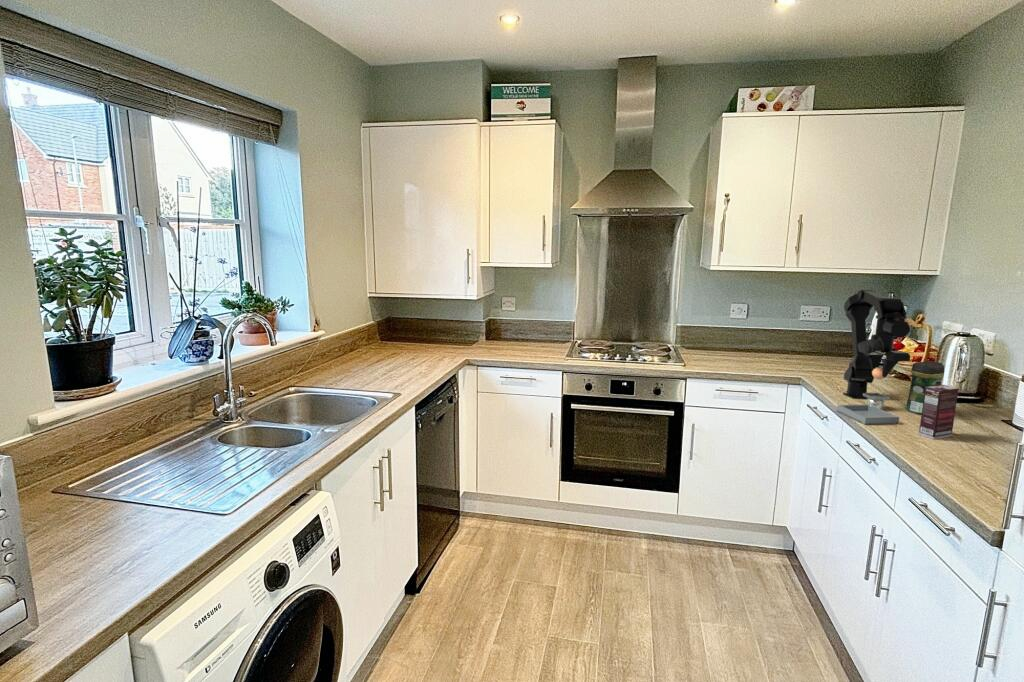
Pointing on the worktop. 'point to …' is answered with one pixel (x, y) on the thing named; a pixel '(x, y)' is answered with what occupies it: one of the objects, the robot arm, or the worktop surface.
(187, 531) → the worktop surface
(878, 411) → the tray
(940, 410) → the supplement box
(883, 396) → the hollow square frame
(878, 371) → the ball
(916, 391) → the coffee jar
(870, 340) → the robot arm
